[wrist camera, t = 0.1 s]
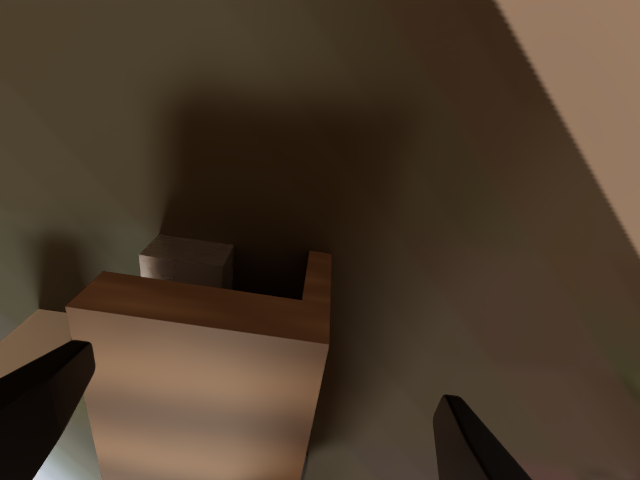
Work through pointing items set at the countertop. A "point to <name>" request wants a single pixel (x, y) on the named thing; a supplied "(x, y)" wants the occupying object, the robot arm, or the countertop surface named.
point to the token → (188, 261)
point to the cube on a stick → (33, 339)
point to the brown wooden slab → (202, 376)
